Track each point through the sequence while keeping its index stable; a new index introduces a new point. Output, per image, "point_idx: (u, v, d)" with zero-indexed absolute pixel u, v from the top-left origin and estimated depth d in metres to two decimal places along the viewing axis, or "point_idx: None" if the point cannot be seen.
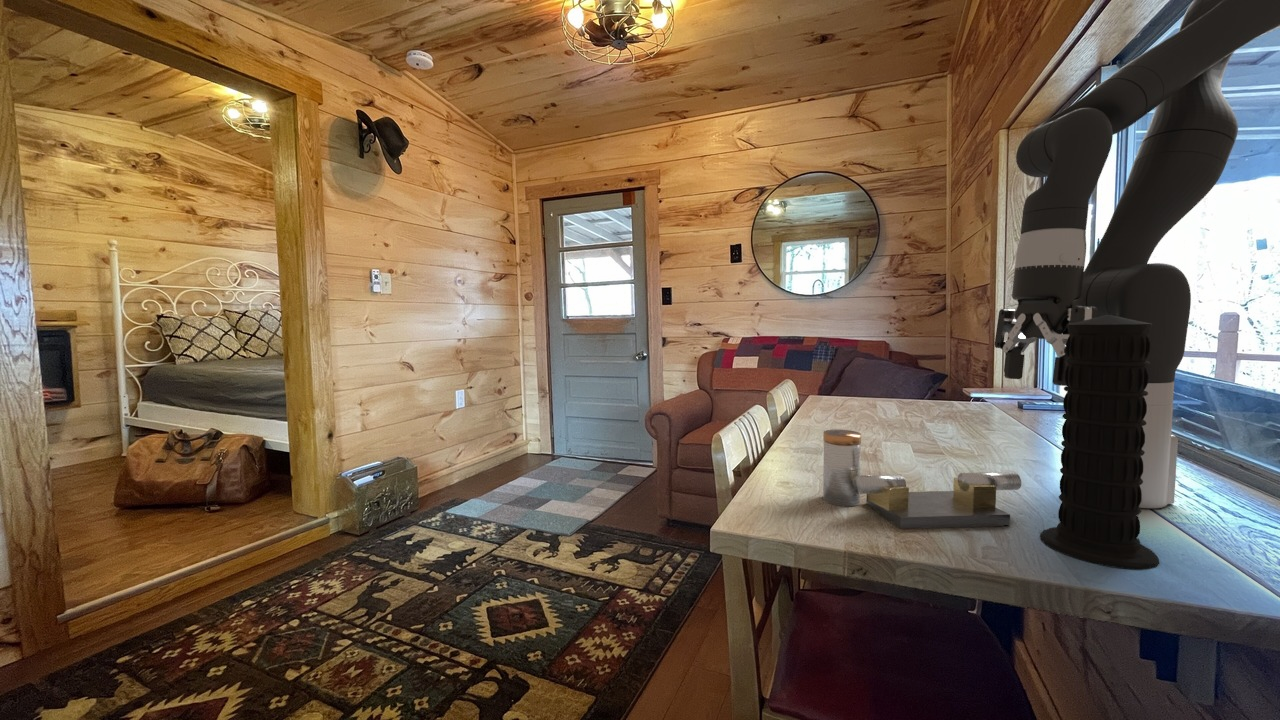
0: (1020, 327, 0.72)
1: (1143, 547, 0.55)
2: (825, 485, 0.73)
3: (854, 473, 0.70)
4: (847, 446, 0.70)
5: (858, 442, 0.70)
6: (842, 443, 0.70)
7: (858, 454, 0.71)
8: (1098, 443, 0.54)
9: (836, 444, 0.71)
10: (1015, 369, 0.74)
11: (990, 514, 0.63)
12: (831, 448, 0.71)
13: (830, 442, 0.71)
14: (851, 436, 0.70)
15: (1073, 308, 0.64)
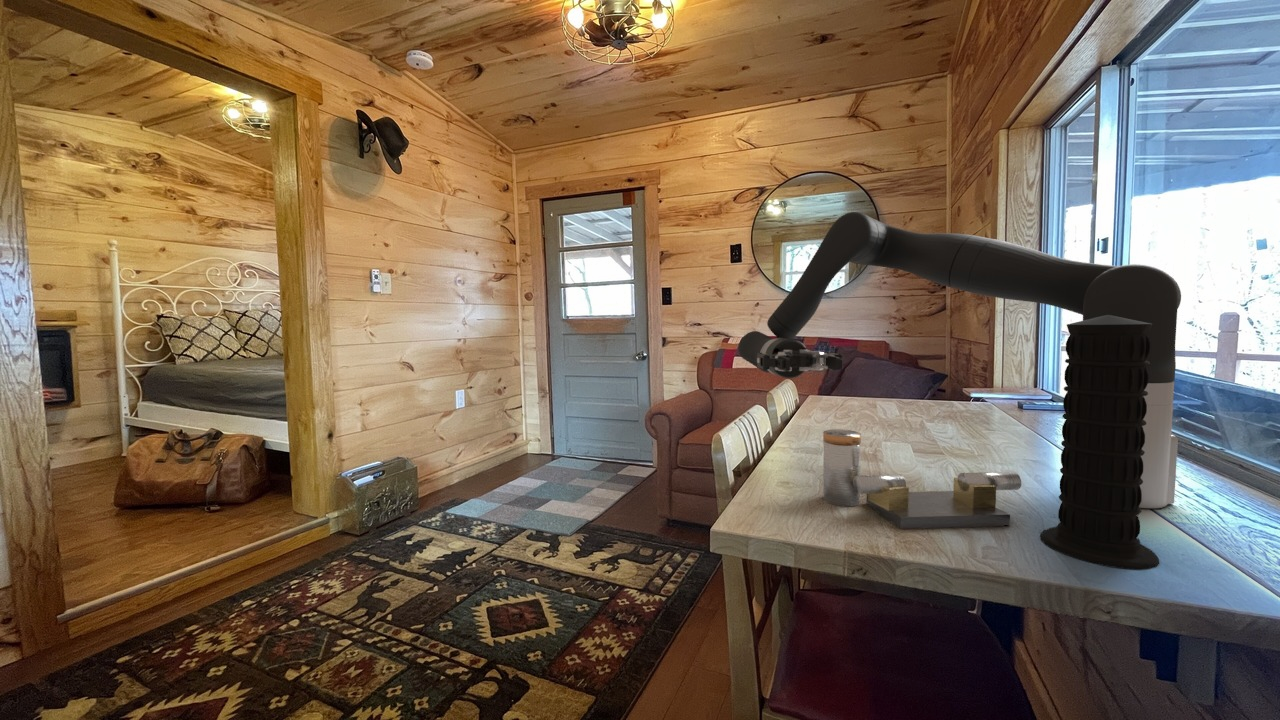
0: (807, 369, 0.91)
1: (1143, 547, 0.55)
2: (825, 485, 0.73)
3: (853, 473, 0.70)
4: (847, 445, 0.70)
5: (858, 442, 0.70)
6: (842, 443, 0.70)
7: (858, 454, 0.71)
8: (1098, 443, 0.54)
9: (836, 444, 0.71)
10: (833, 363, 0.84)
11: (990, 514, 0.63)
12: (831, 448, 0.71)
13: (830, 442, 0.71)
14: (851, 436, 0.70)
15: None
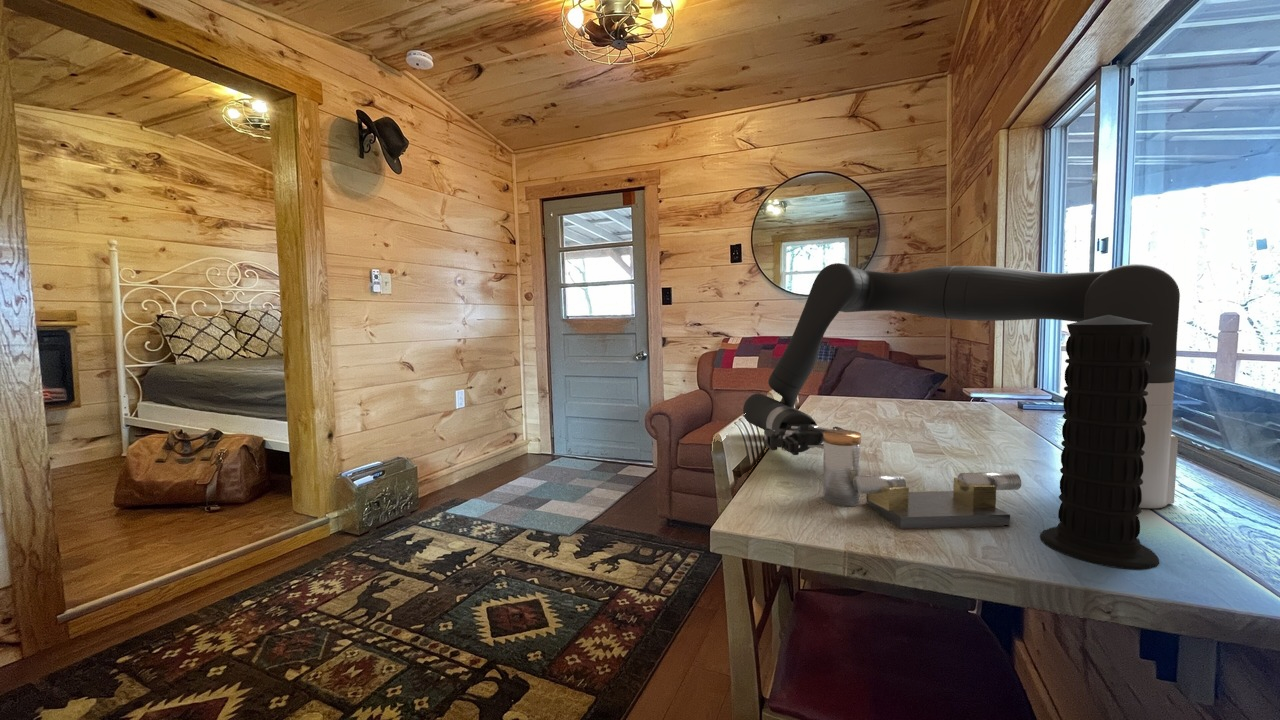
0: None
1: (1143, 547, 0.55)
2: (825, 485, 0.73)
3: (853, 473, 0.70)
4: (847, 446, 0.70)
5: (858, 442, 0.70)
6: (842, 443, 0.70)
7: (858, 454, 0.71)
8: (1098, 443, 0.54)
9: (836, 444, 0.71)
10: None
11: (990, 514, 0.63)
12: (831, 448, 0.71)
13: (830, 442, 0.71)
14: (851, 436, 0.70)
15: None
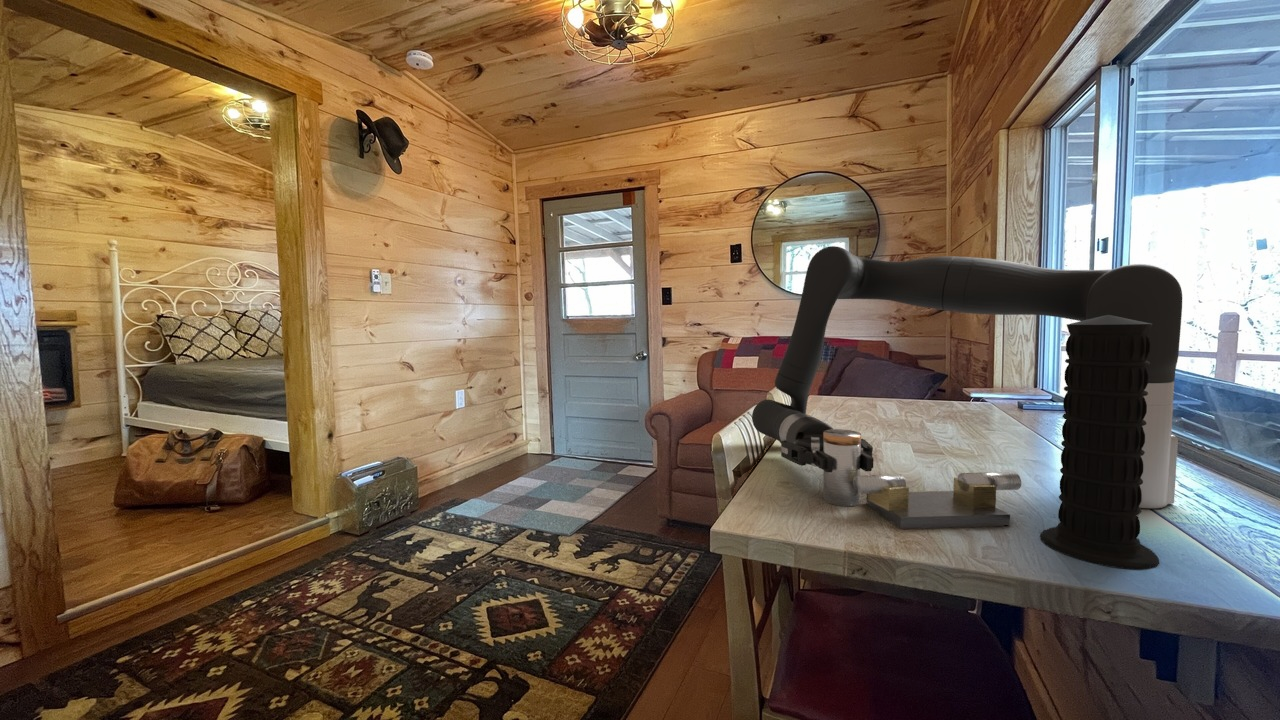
0: None
1: (1143, 547, 0.55)
2: (825, 485, 0.73)
3: (854, 473, 0.70)
4: (847, 445, 0.70)
5: (858, 442, 0.70)
6: (842, 443, 0.70)
7: (858, 454, 0.71)
8: (1098, 443, 0.54)
9: (836, 444, 0.71)
10: (862, 461, 0.72)
11: (990, 514, 0.63)
12: (831, 447, 0.71)
13: (830, 442, 0.71)
14: (851, 436, 0.70)
15: None
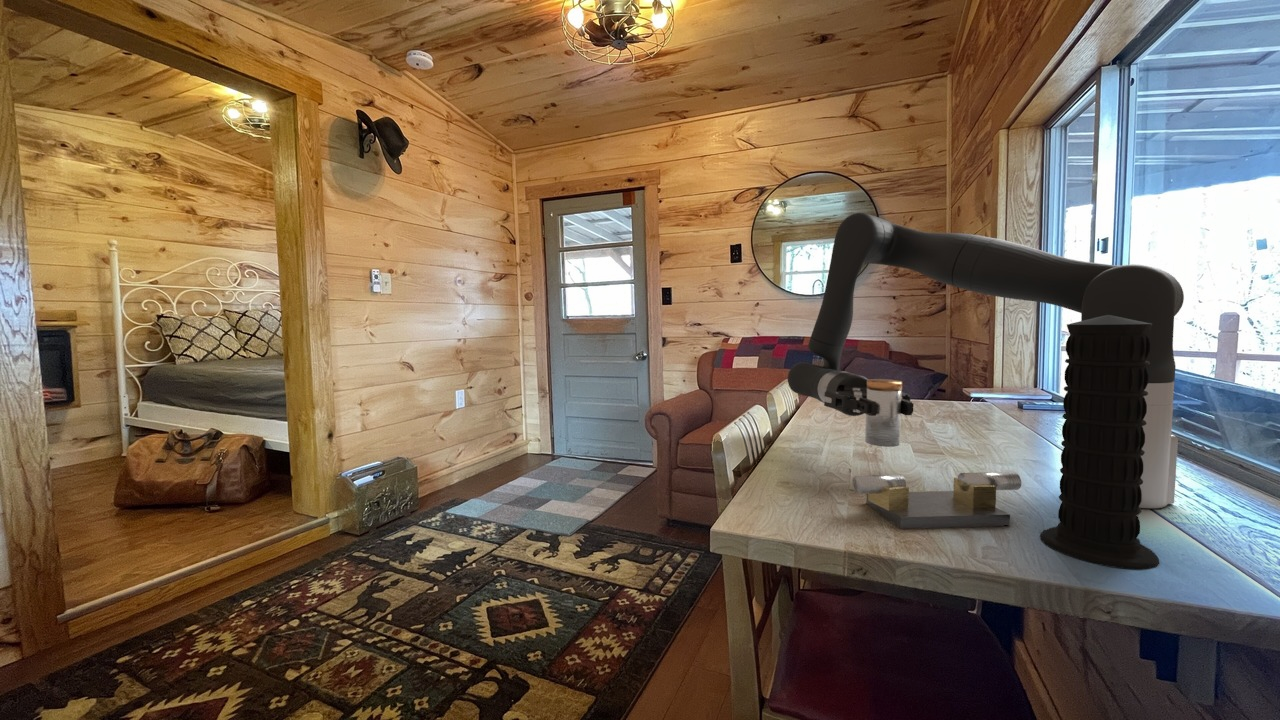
0: None
1: (1143, 547, 0.55)
2: (868, 428, 0.80)
3: (895, 417, 0.78)
4: (890, 391, 0.77)
5: (900, 388, 0.77)
6: (885, 389, 0.77)
7: (899, 399, 0.78)
8: (1098, 443, 0.54)
9: (880, 390, 0.78)
10: (903, 407, 0.79)
11: (990, 514, 0.63)
12: (875, 393, 0.78)
13: (874, 388, 0.78)
14: (893, 383, 0.77)
15: None
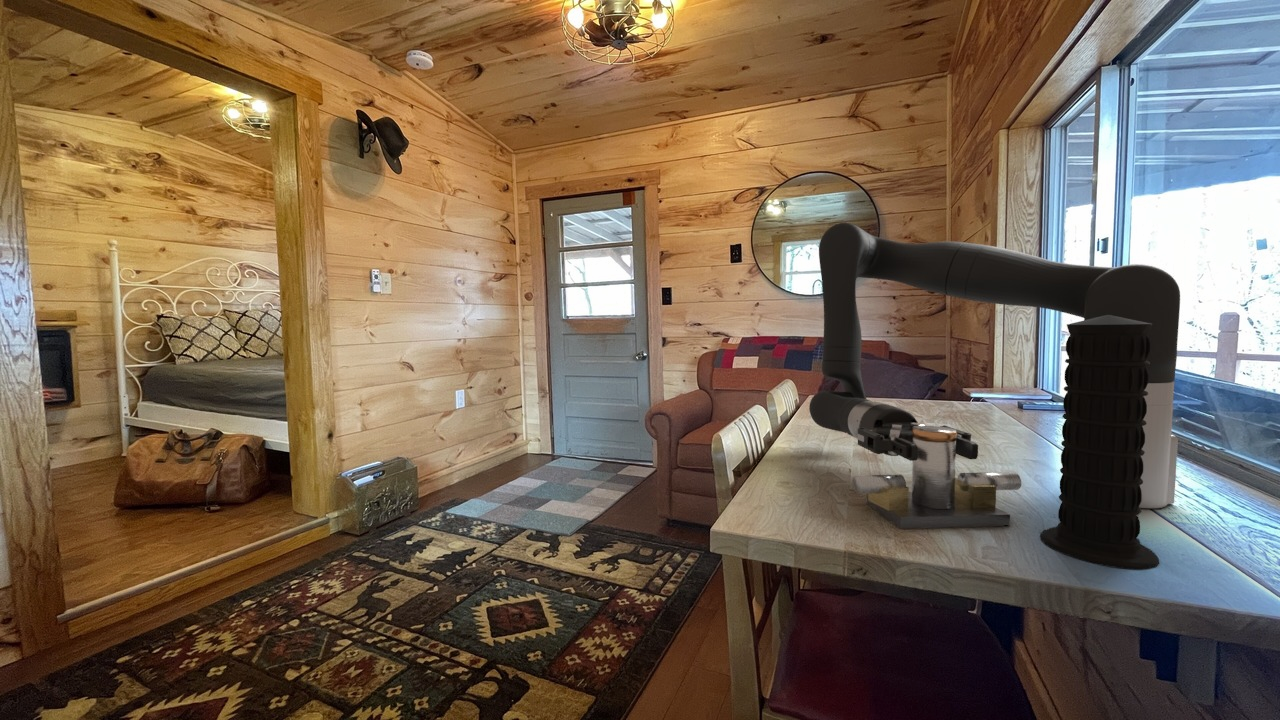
0: None
1: (1143, 547, 0.55)
2: (916, 486, 0.67)
3: (950, 473, 0.65)
4: (944, 442, 0.64)
5: (954, 439, 0.65)
6: (937, 440, 0.65)
7: (954, 452, 0.65)
8: (1098, 443, 0.54)
9: (930, 441, 0.65)
10: (965, 449, 0.66)
11: (990, 514, 0.63)
12: (924, 445, 0.66)
13: (924, 438, 0.66)
14: (947, 432, 0.65)
15: None
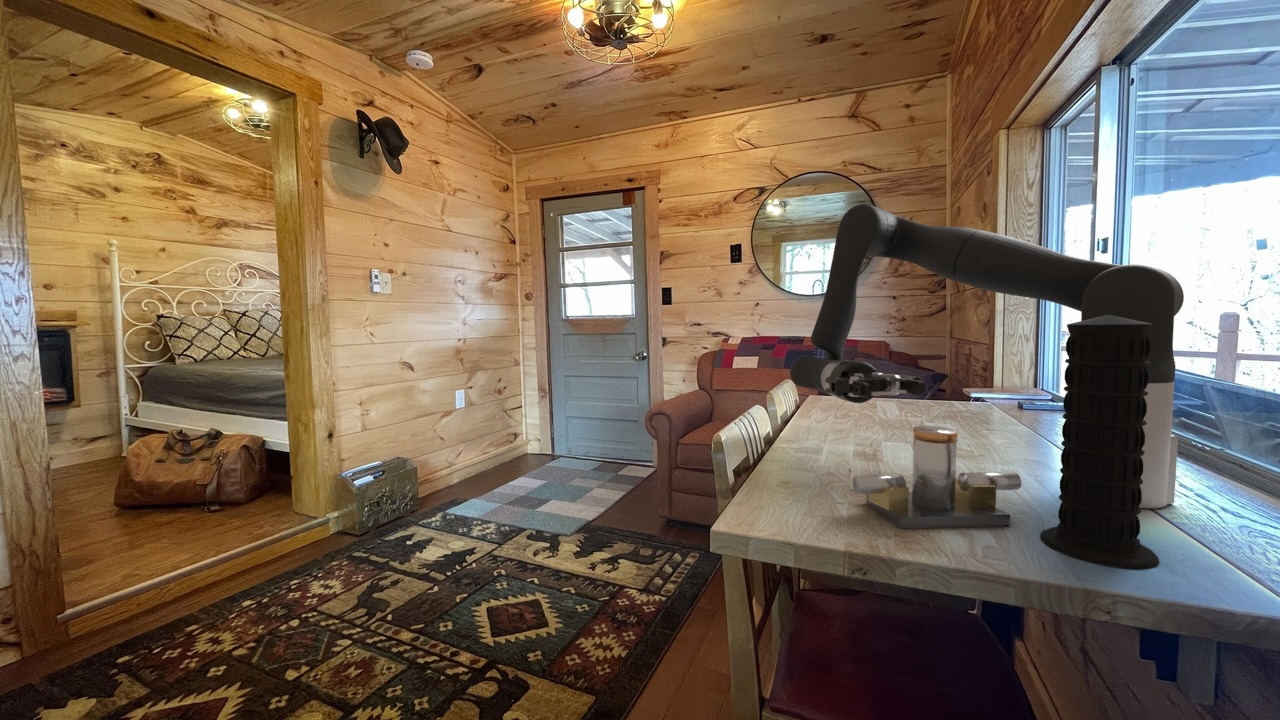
0: (880, 394, 0.85)
1: (1143, 547, 0.55)
2: (916, 486, 0.67)
3: (950, 474, 0.65)
4: (944, 443, 0.64)
5: (955, 439, 0.65)
6: (938, 440, 0.64)
7: (955, 452, 0.65)
8: (1098, 443, 0.54)
9: (931, 442, 0.65)
10: (914, 387, 0.78)
11: (990, 514, 0.63)
12: (925, 445, 0.65)
13: (924, 439, 0.65)
14: (948, 433, 0.65)
15: None
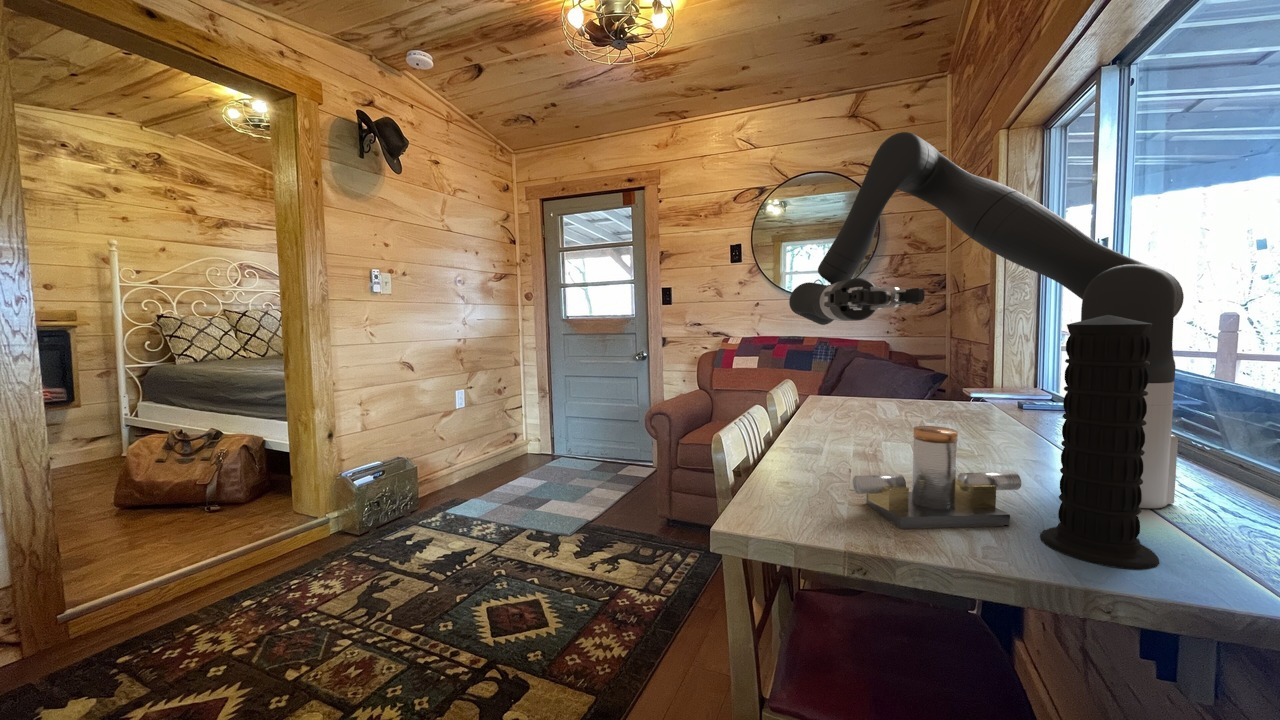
0: (879, 308, 0.84)
1: (1143, 547, 0.55)
2: (916, 486, 0.67)
3: (950, 473, 0.65)
4: (944, 443, 0.64)
5: (955, 439, 0.65)
6: (938, 440, 0.64)
7: (955, 452, 0.65)
8: (1098, 443, 0.54)
9: (931, 441, 0.65)
10: (913, 295, 0.78)
11: (990, 514, 0.63)
12: (925, 445, 0.65)
13: (924, 439, 0.65)
14: (948, 433, 0.65)
15: (828, 306, 0.86)
